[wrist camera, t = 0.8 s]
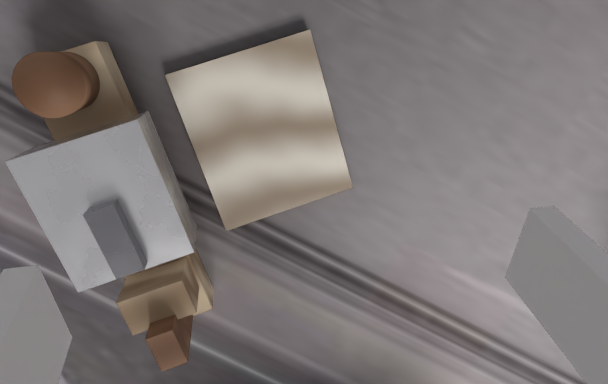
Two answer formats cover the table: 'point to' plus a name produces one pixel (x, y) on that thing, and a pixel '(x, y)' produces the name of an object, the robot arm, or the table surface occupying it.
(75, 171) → the white block with stub
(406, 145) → the table surface
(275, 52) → the ash board
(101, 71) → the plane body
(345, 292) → the table surface
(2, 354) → the robot arm
